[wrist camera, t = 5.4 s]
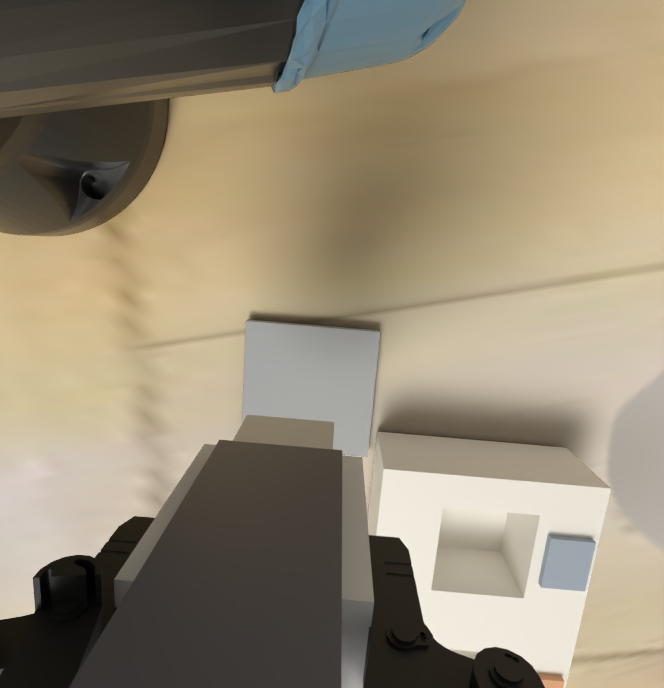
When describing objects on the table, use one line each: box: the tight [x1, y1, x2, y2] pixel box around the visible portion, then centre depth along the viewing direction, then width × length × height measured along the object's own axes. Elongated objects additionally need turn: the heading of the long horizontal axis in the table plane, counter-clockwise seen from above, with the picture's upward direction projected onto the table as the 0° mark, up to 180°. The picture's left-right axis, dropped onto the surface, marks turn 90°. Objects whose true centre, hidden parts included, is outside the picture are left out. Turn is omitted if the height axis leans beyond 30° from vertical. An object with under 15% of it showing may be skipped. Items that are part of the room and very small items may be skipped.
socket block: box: [367, 432, 611, 688], centre depth 29 cm, size 18×12×5 cm, turn 175°
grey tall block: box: [69, 415, 342, 688], centre depth 13 cm, size 4×4×12 cm
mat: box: [242, 319, 380, 457], centre depth 29 cm, size 8×8×1 cm
